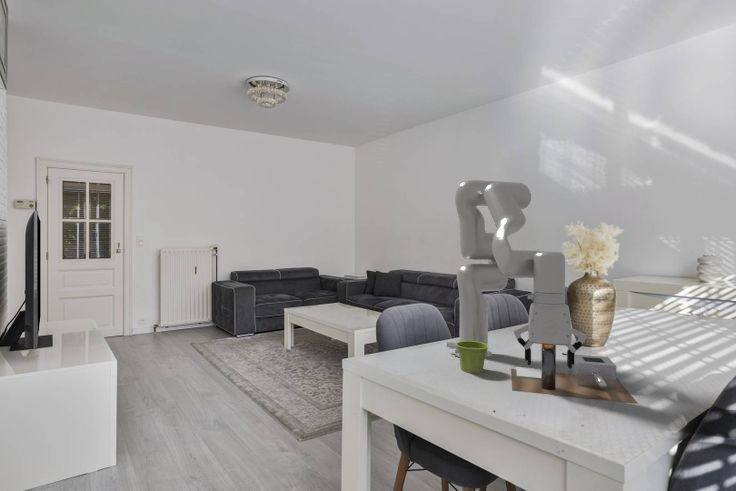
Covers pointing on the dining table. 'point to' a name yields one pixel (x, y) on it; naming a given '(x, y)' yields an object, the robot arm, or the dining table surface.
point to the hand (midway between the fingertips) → (549, 365)
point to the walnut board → (572, 388)
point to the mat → (528, 373)
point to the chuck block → (594, 371)
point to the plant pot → (472, 355)
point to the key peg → (548, 367)
